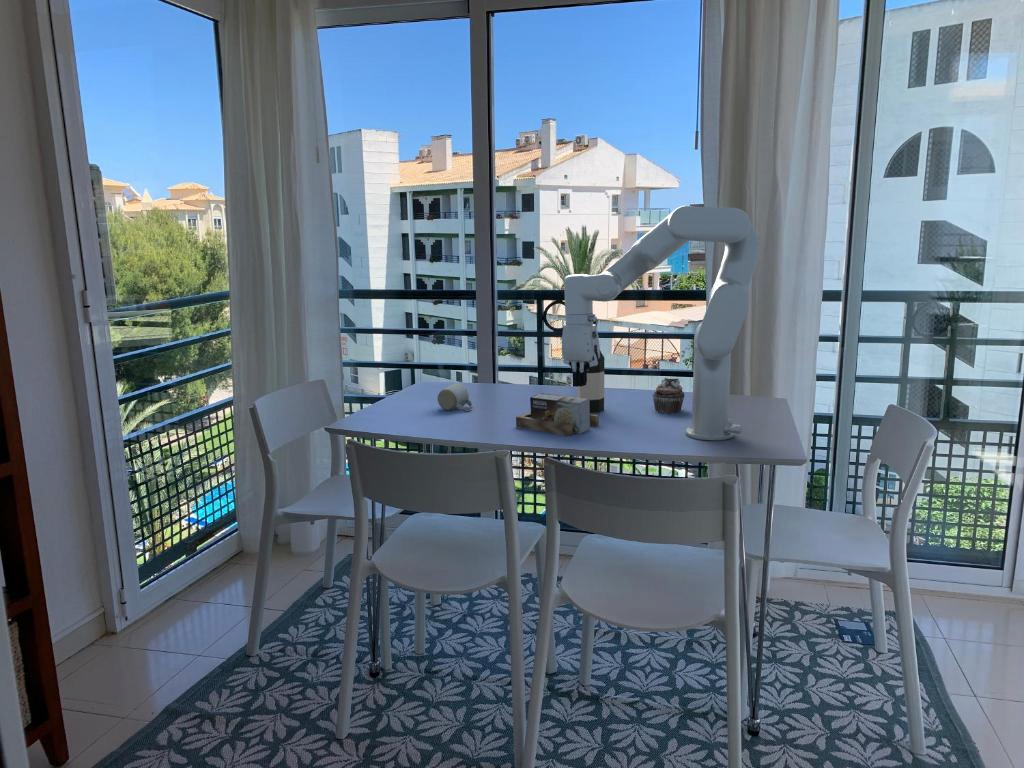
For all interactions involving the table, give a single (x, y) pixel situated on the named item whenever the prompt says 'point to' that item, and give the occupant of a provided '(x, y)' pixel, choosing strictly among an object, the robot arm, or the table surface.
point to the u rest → (549, 424)
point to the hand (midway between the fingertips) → (581, 385)
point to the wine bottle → (594, 385)
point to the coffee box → (562, 410)
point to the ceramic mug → (454, 397)
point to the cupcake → (668, 396)
